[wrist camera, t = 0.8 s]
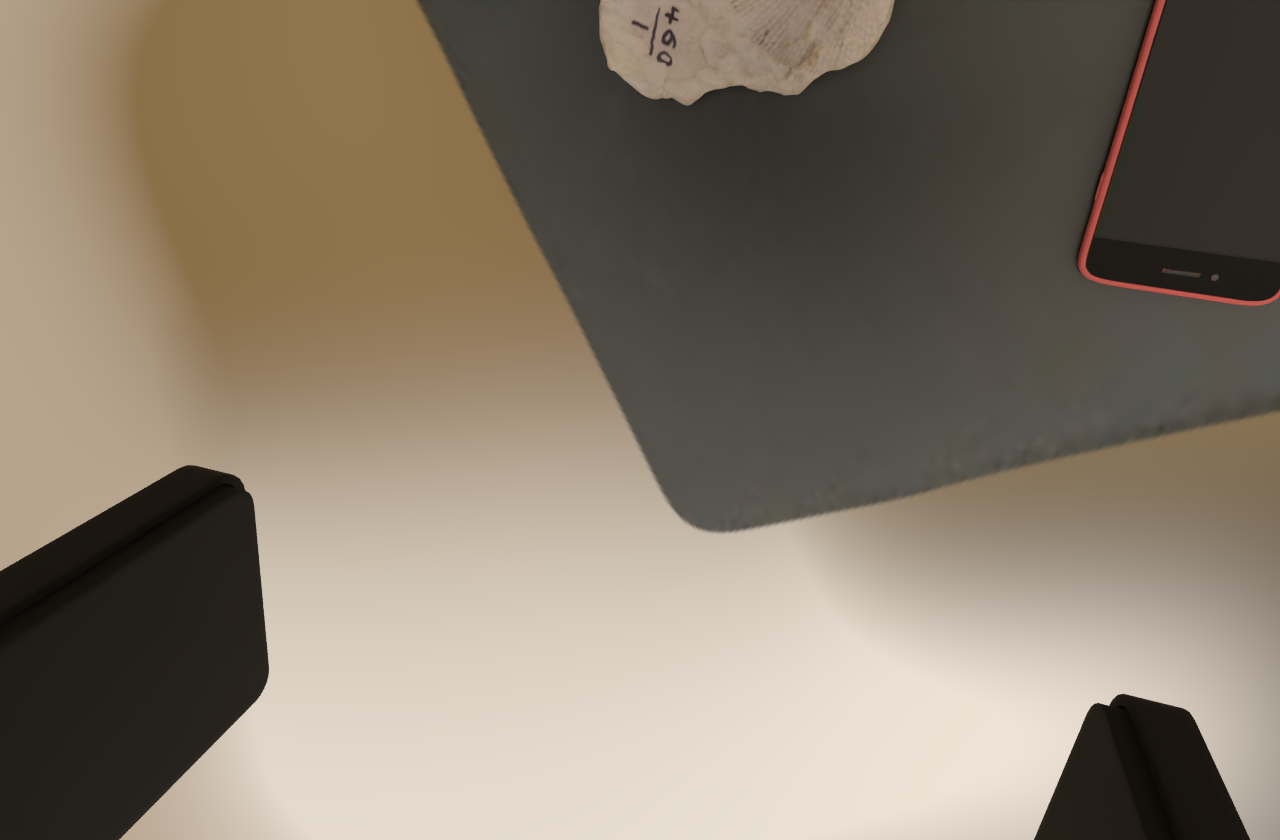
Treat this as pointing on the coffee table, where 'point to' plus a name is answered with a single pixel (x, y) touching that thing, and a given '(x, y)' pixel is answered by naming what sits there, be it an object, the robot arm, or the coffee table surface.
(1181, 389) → the coffee table surface
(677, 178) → the coffee table surface
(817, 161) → the coffee table surface
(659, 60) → the fossil
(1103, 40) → the coffee table surface
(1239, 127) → the smartphone
